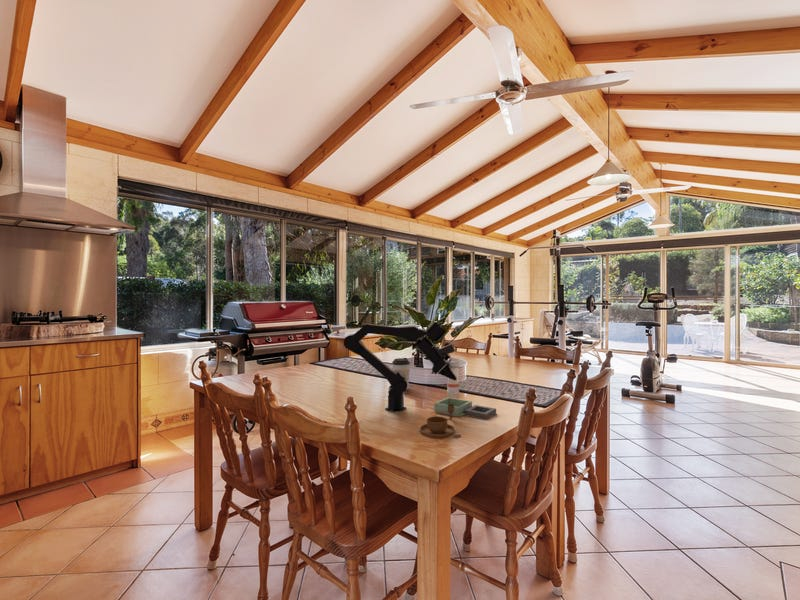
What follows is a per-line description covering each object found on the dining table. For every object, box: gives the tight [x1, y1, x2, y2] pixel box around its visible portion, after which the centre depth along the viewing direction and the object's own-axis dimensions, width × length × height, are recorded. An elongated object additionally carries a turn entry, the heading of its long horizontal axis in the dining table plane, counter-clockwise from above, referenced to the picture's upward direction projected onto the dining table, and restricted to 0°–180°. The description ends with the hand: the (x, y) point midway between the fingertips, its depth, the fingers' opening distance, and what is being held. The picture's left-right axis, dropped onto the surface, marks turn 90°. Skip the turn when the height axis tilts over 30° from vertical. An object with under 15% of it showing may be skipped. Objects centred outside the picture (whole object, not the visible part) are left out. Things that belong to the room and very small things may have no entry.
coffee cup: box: [391, 357, 411, 391], centre depth 200 cm, size 9×9×15 cm
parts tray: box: [433, 397, 473, 418], centre depth 162 cm, size 11×11×4 cm
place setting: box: [419, 405, 462, 440], centre depth 140 cm, size 18×20×6 cm
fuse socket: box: [464, 404, 497, 420], centre depth 157 cm, size 9×9×2 cm
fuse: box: [446, 360, 460, 397], centre depth 161 cm, size 5×5×13 cm
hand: (456, 378), depth 161 cm, fingers closed on fuse, 4 cm apart
